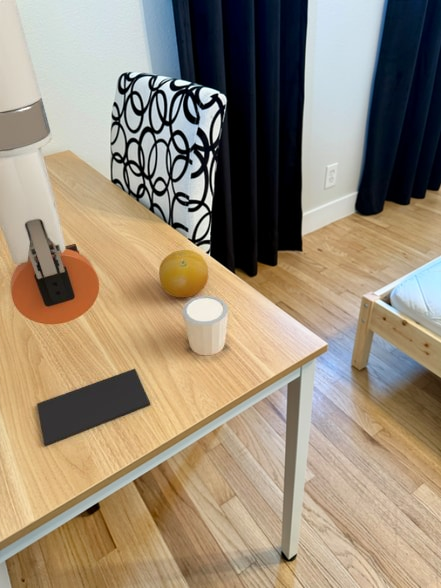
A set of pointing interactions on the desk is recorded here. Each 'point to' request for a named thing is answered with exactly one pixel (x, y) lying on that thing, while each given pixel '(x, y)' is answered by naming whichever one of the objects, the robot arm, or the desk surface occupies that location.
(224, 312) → the shot glass
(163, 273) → the fruit
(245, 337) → the desk surface
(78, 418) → the mat
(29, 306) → the disc
